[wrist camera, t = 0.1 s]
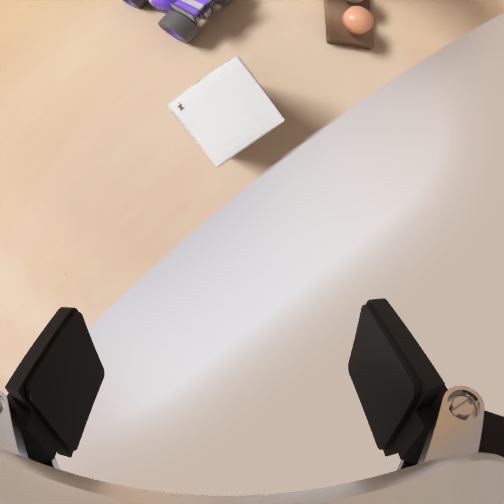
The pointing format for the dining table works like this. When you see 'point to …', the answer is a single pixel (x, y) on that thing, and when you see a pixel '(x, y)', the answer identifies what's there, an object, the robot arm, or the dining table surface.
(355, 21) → the terracotta button
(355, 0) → the sage button
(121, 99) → the dining table surface
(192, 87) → the supplement box
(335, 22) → the button plate
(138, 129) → the dining table surface
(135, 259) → the dining table surface
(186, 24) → the toy race car
